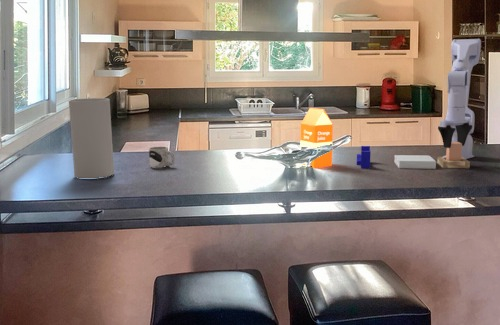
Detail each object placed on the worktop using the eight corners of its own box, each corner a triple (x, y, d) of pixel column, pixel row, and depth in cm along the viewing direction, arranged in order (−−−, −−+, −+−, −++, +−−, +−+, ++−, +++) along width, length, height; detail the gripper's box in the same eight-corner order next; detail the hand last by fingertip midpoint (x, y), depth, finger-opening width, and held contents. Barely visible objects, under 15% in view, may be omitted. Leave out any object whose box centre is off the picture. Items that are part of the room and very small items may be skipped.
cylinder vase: (72, 174, 179) (67, 99, 175) (111, 170, 184) (106, 97, 179) (76, 182, 168) (70, 101, 163) (117, 178, 173) (112, 100, 168)
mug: (145, 167, 189) (145, 148, 188) (157, 164, 195) (156, 146, 194) (169, 169, 185) (168, 150, 184) (180, 166, 191) (179, 147, 189)
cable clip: (356, 162, 195) (357, 145, 194) (369, 162, 194) (369, 146, 193) (356, 168, 183) (356, 151, 182) (370, 169, 182) (370, 151, 181)
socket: (462, 163, 189) (462, 157, 189) (469, 168, 181) (469, 161, 180) (437, 163, 190) (437, 156, 190) (443, 167, 182) (443, 161, 181)
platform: (428, 162, 192) (429, 155, 191) (435, 168, 181) (436, 161, 180) (394, 162, 193) (394, 155, 193) (399, 168, 182) (399, 161, 182)
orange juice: (313, 167, 185) (314, 109, 181) (299, 163, 192) (300, 107, 189) (332, 165, 188) (333, 108, 185) (317, 161, 196) (318, 106, 192)
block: (457, 164, 187) (458, 141, 186) (460, 166, 183) (462, 143, 182) (445, 164, 188) (446, 141, 186) (448, 166, 184) (449, 143, 182)
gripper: (459, 104, 189) (457, 143, 191) (432, 107, 181) (430, 147, 183) (477, 106, 183) (474, 145, 186) (450, 108, 175) (448, 149, 178)
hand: (454, 146), depth 184 cm, fingers open, 7 cm apart
